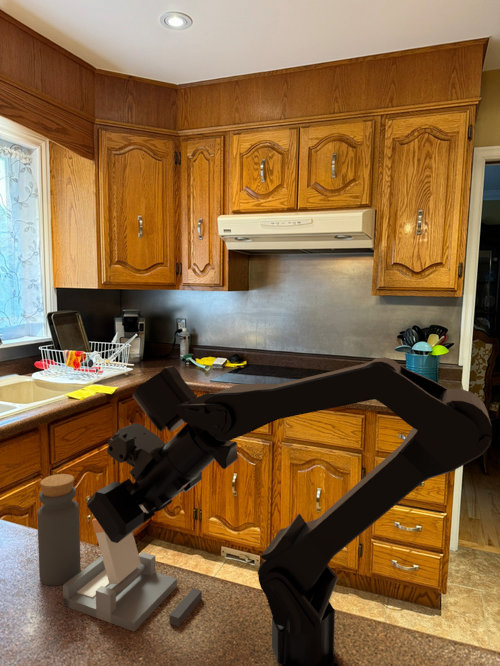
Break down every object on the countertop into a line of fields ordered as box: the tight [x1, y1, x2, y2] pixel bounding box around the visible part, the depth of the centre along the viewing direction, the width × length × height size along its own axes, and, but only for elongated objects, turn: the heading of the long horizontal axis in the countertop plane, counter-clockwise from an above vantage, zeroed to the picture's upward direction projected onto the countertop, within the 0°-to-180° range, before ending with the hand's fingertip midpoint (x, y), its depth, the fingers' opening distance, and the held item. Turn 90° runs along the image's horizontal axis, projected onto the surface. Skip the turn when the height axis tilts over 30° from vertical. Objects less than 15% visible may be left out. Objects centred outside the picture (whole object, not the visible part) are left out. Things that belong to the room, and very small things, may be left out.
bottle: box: [36, 473, 81, 586], centre depth 70 cm, size 6×6×15 cm
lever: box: [91, 517, 146, 597], centre depth 65 cm, size 2×7×11 cm, turn 157°
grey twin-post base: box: [62, 551, 178, 632], centre depth 65 cm, size 12×10×4 cm
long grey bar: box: [168, 587, 203, 627], centre depth 62 cm, size 6×1×1 cm, turn 156°
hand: (117, 520), depth 65 cm, fingers closed, pressing on lever
